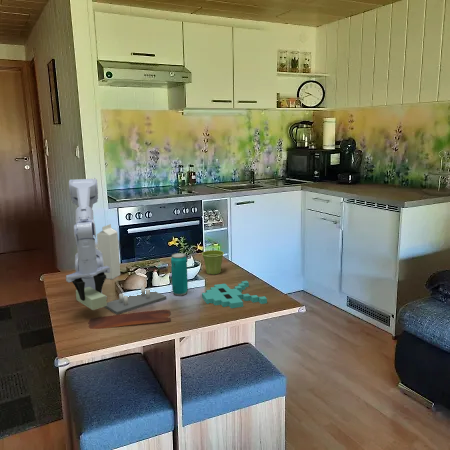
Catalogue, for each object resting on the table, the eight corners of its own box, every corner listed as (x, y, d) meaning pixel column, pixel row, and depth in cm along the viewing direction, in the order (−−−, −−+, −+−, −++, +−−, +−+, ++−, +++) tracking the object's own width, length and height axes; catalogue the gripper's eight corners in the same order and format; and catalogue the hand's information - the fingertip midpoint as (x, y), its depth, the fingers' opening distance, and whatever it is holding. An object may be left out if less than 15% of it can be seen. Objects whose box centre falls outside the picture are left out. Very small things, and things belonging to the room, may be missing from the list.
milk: (100, 278, 189) (95, 226, 185) (108, 273, 195) (104, 223, 190) (112, 279, 187) (108, 227, 182) (120, 274, 193) (116, 224, 188)
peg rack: (102, 306, 159) (102, 295, 158) (151, 292, 172) (150, 282, 171) (117, 314, 152) (116, 303, 151) (166, 299, 165) (165, 288, 164)
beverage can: (183, 289, 174) (182, 252, 171) (190, 294, 169) (189, 255, 166) (169, 292, 171) (168, 254, 168) (176, 297, 166) (175, 258, 163)
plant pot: (208, 277, 187) (208, 257, 185) (198, 271, 195) (198, 252, 194) (228, 273, 192) (227, 254, 190) (217, 268, 200) (217, 249, 198)
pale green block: (76, 300, 154) (75, 290, 153) (90, 296, 157) (89, 286, 156) (92, 310, 145) (91, 299, 144) (106, 305, 148) (106, 295, 148)
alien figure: (246, 286, 178) (197, 292, 172) (246, 280, 177) (197, 287, 171) (266, 304, 159) (212, 312, 153) (266, 298, 159) (212, 306, 153)
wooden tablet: (170, 311, 155) (169, 307, 154) (172, 324, 145) (171, 319, 145) (89, 319, 150) (89, 314, 150) (86, 332, 141) (85, 326, 140)
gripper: (71, 265, 140) (75, 306, 143) (113, 256, 150) (116, 294, 153) (61, 261, 145) (65, 300, 148) (103, 252, 155) (106, 289, 158)
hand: (90, 297), depth 151 cm, fingers closed on pale green block, 5 cm apart
